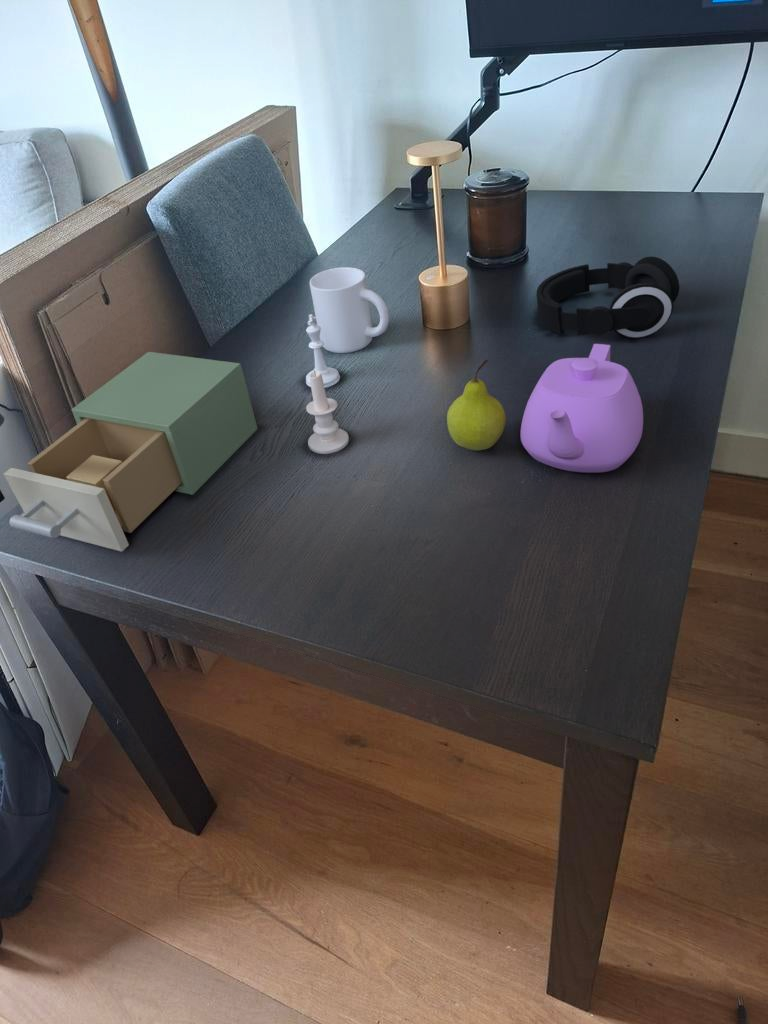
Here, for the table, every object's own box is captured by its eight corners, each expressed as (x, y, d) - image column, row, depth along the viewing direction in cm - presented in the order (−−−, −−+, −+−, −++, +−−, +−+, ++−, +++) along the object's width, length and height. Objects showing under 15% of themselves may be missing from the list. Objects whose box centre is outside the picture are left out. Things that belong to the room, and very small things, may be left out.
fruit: (437, 450, 92) (429, 362, 85) (471, 424, 96) (466, 337, 88) (483, 468, 88) (479, 377, 81) (517, 440, 92) (516, 351, 84)
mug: (404, 336, 117) (397, 271, 110) (378, 361, 112) (369, 295, 105) (338, 327, 122) (328, 264, 116) (310, 350, 117) (298, 286, 110)
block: (109, 515, 86) (95, 483, 83) (80, 507, 88) (65, 476, 85) (134, 491, 89) (122, 460, 87) (105, 485, 91) (92, 454, 88)
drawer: (95, 578, 80) (67, 521, 75) (4, 552, 85) (-28, 497, 80) (195, 479, 92) (176, 424, 87) (109, 461, 97) (87, 409, 92)
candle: (317, 459, 94) (301, 385, 87) (302, 439, 98) (286, 367, 91) (355, 445, 95) (343, 371, 89) (339, 426, 99) (326, 354, 93)
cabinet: (192, 495, 91) (168, 426, 85) (99, 475, 97) (70, 409, 91) (257, 428, 101) (240, 363, 95) (170, 414, 107) (148, 351, 101)
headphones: (666, 293, 99) (519, 298, 108) (666, 348, 104) (525, 349, 113) (687, 244, 111) (552, 252, 120) (686, 295, 116) (556, 300, 125)
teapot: (494, 488, 85) (492, 403, 78) (549, 398, 98) (550, 318, 91) (615, 512, 80) (624, 423, 73) (655, 413, 93) (666, 330, 86)
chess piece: (300, 386, 108) (286, 322, 102) (315, 370, 112) (302, 306, 106) (331, 390, 107) (319, 324, 100) (345, 372, 110) (334, 308, 104)
